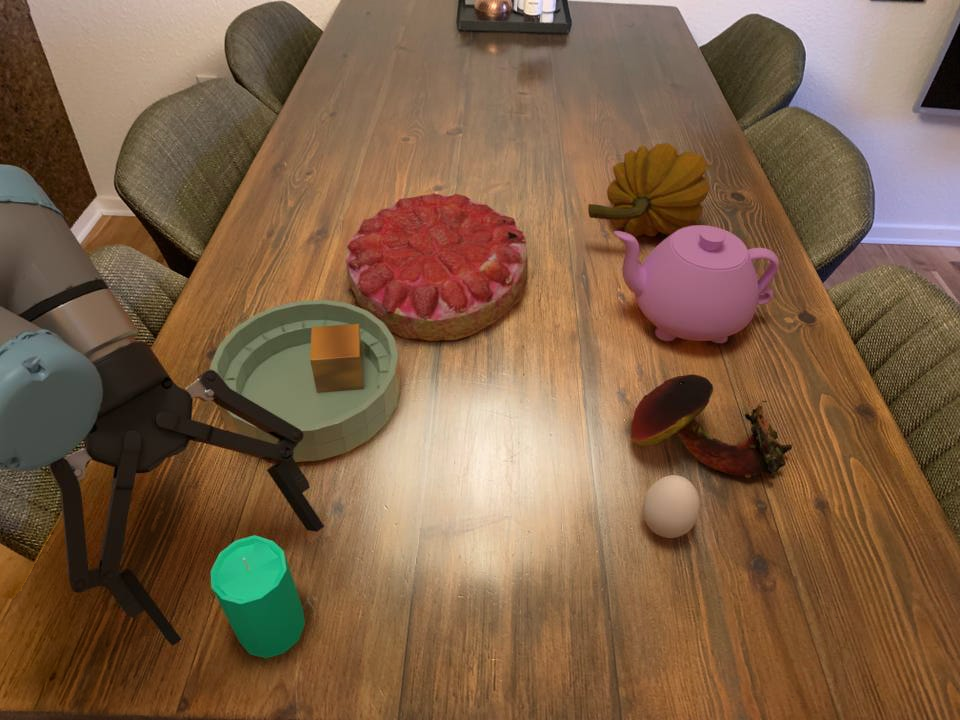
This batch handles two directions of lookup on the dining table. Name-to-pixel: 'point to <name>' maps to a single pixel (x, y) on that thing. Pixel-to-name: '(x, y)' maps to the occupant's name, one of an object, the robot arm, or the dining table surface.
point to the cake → (437, 266)
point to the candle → (258, 596)
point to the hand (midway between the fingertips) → (249, 581)
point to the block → (337, 358)
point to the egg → (671, 506)
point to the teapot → (698, 283)
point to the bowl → (309, 377)
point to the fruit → (655, 191)
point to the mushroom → (676, 413)
